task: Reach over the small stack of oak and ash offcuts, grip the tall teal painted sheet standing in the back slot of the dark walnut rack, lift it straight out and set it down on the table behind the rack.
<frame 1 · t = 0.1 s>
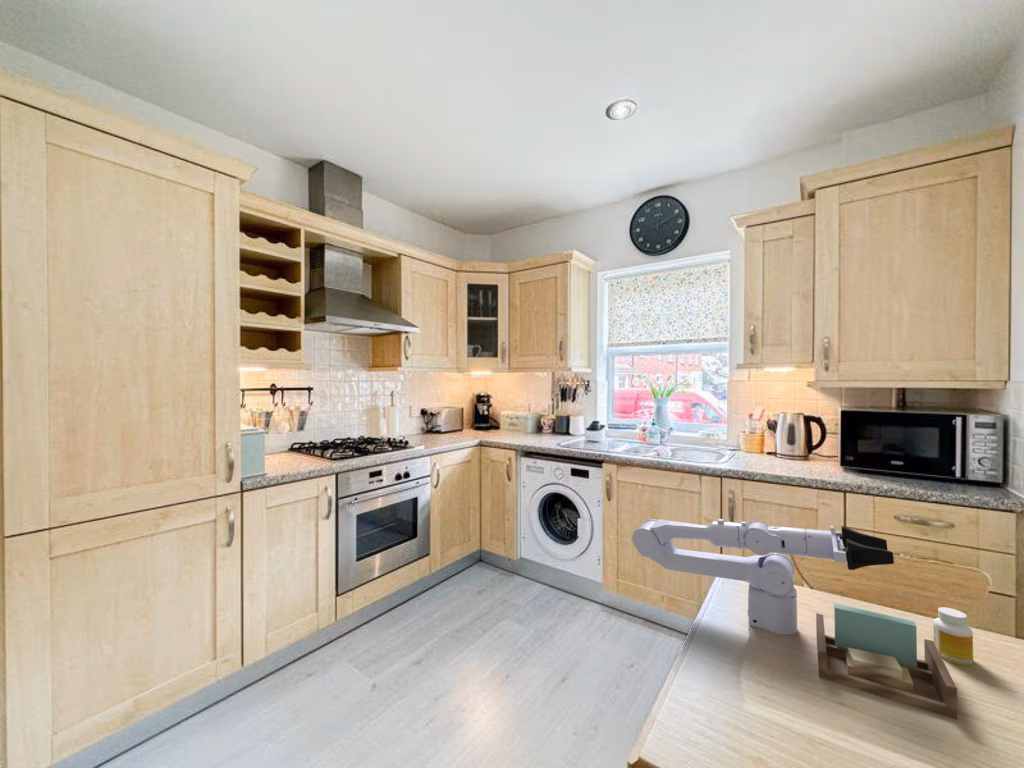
hand: (890, 551, 84), 22 cm above the table, tool horizontal, fingers open, 7 cm apart
supplement bottle: (953, 662, 83), on the table
teal sheet: (873, 660, 83), point 1 cm above the table, touching walnut rack
ash offcut: (874, 666, 79), point 2 cm above the table, touching oak offcut
oak offcut: (877, 674, 78), point 1 cm above the table, touching ash offcut, walnut rack
walnut rack: (877, 677, 79), on the table
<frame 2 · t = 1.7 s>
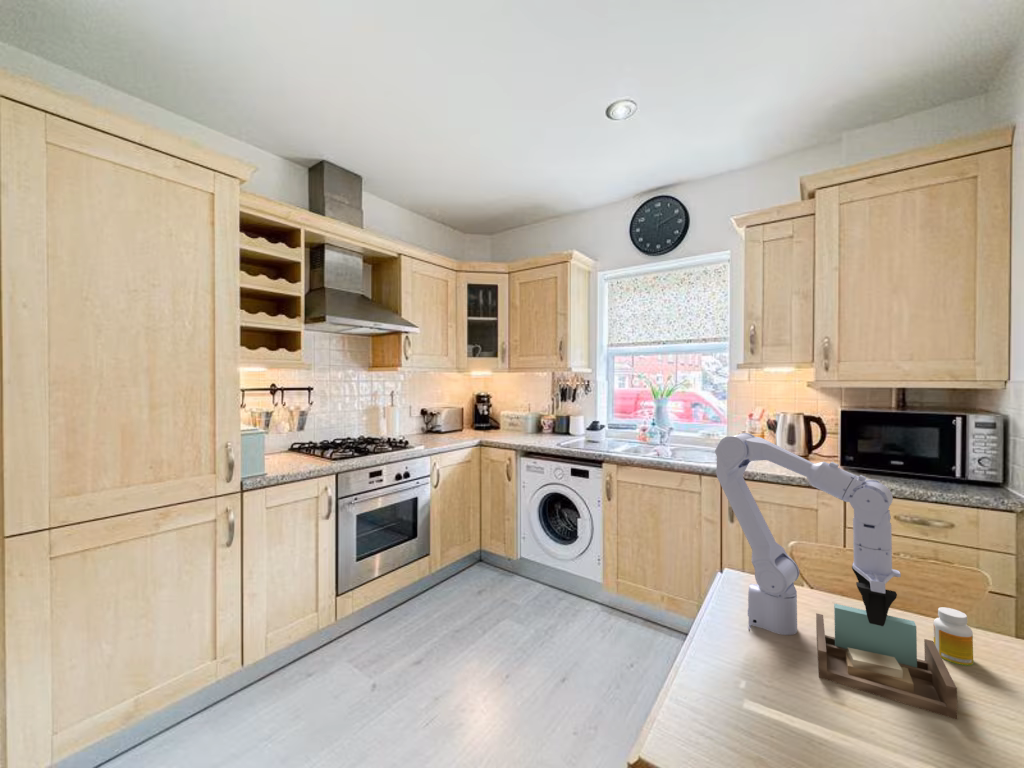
hand: (873, 614, 83), 10 cm above the table, tool pointing down, fingers open, 7 cm apart
nothing on the table moved.
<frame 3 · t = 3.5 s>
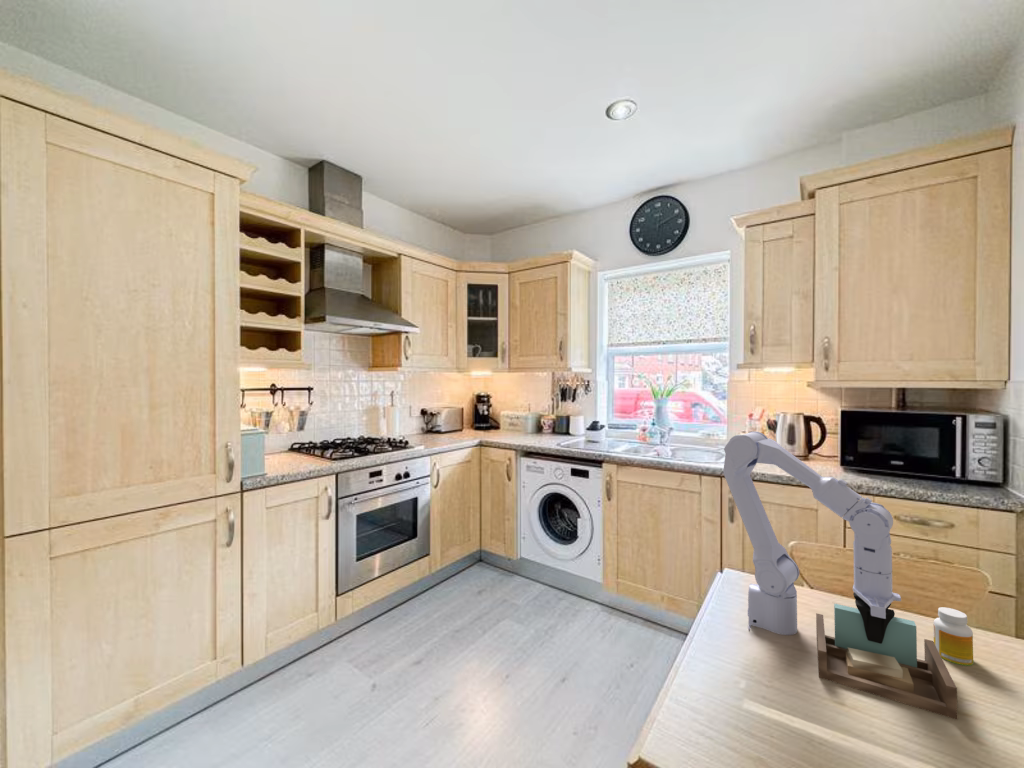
hand: (873, 637, 83), 5 cm above the table, tool pointing down, fingers closed on teal sheet, 2 cm apart
teal sheet: (873, 660, 83), point 1 cm above the table, touching gripper, walnut rack
everything else where it was.
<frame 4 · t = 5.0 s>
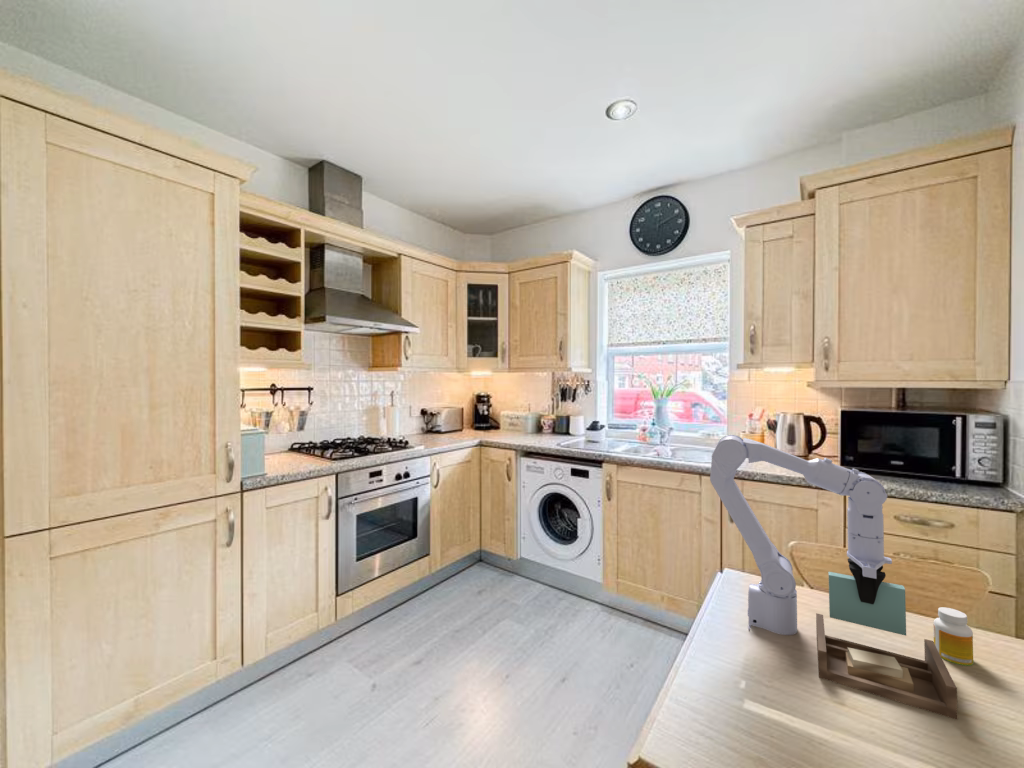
hand: (866, 599, 87), 10 cm above the table, tool pointing down, fingers closed on teal sheet
teal sheet: (866, 623, 87), point 5 cm above the table, touching gripper
everything else where it was.
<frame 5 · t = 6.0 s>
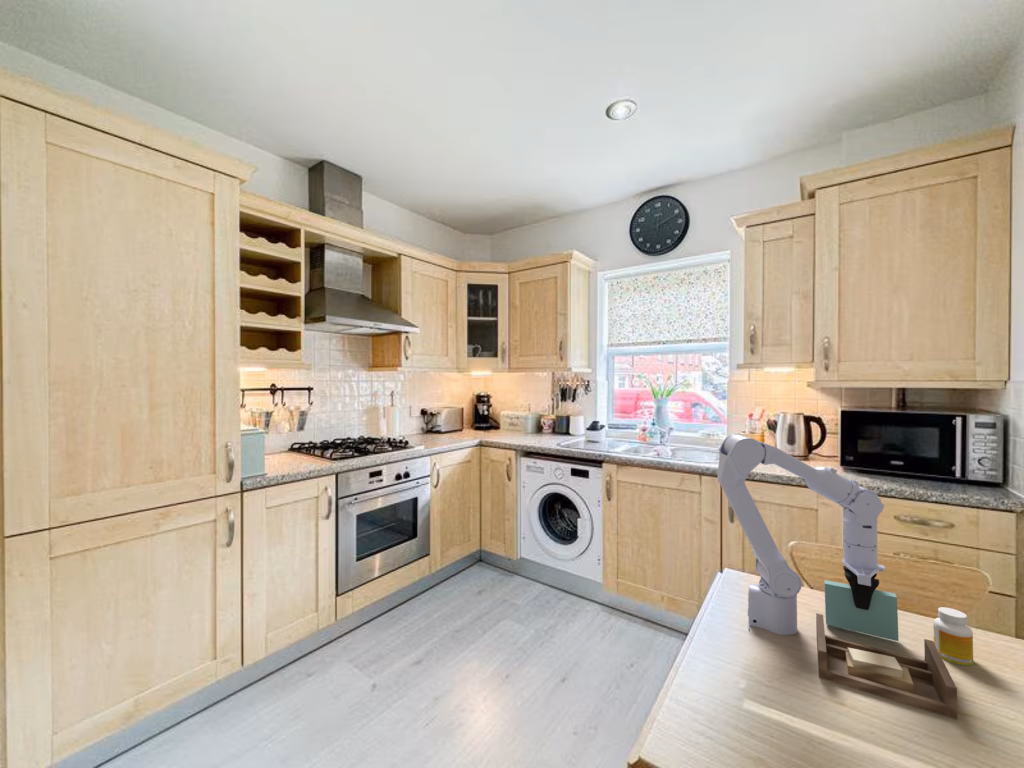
hand: (861, 605, 91), 7 cm above the table, tool pointing down, fingers closed on teal sheet, 2 cm apart
teal sheet: (860, 630, 91), point 2 cm above the table, touching gripper
everything else where it was.
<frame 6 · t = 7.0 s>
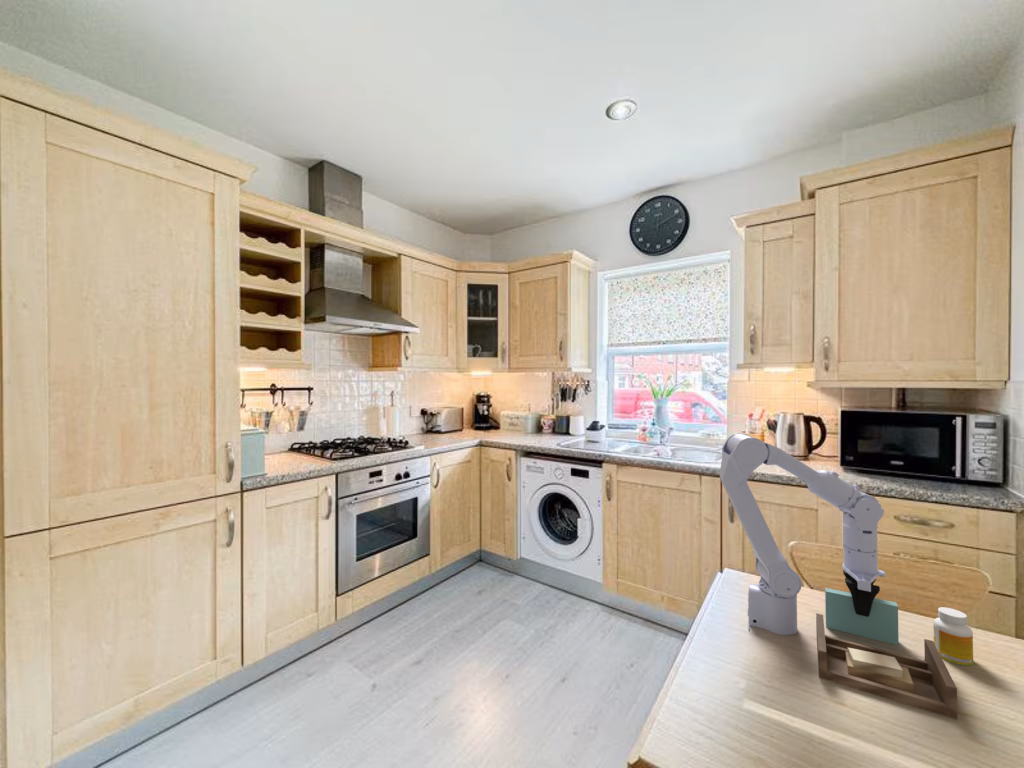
hand: (861, 610, 91), 6 cm above the table, tool pointing down, fingers open, 3 cm apart
teal sheet: (860, 638, 91), on the table
everything else where it was.
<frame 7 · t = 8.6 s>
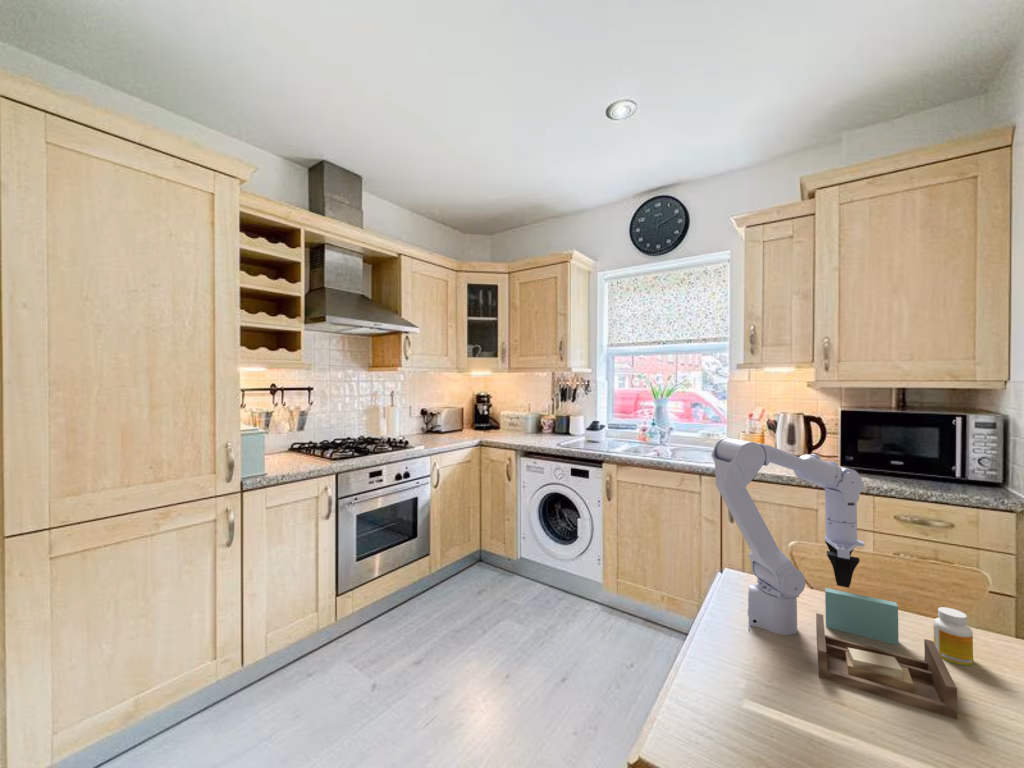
hand: (841, 579, 96), 10 cm above the table, tool pointing down, fingers open, 7 cm apart
nothing on the table moved.
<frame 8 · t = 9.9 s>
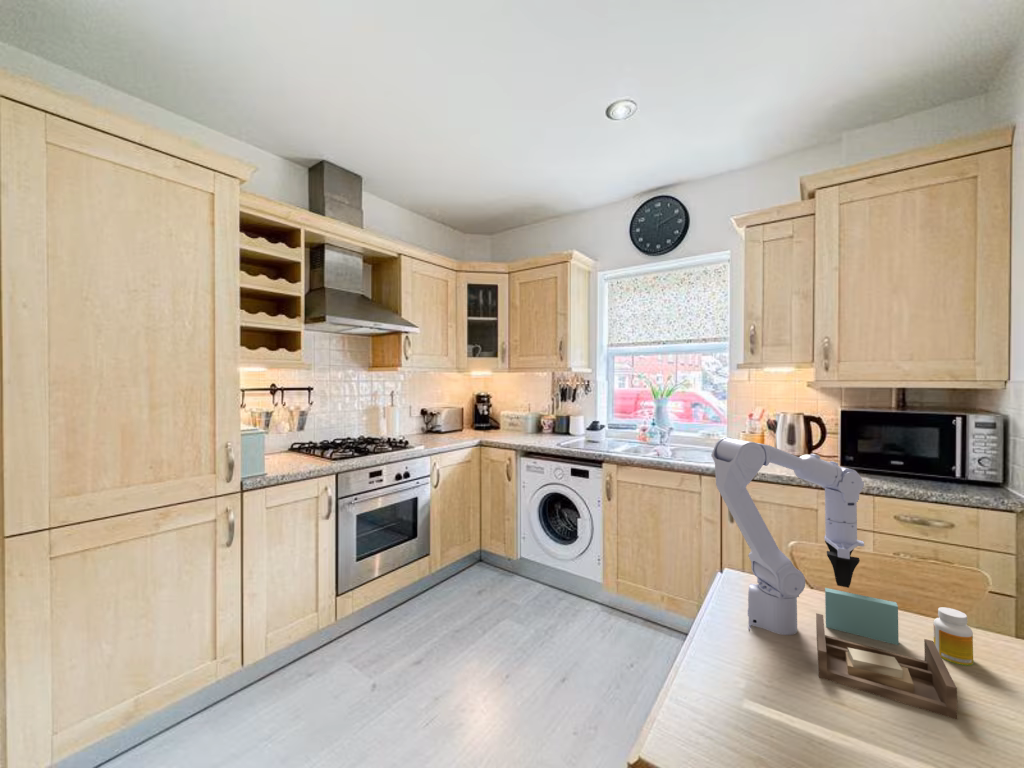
hand: (841, 579, 96), 10 cm above the table, tool pointing down, fingers open, 7 cm apart
nothing on the table moved.
at the end: teal sheet inside the target area (1.0 cm from its centre), on the table; the gripper is holding nothing; oak offcut moved 0.0 cm from its start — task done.
